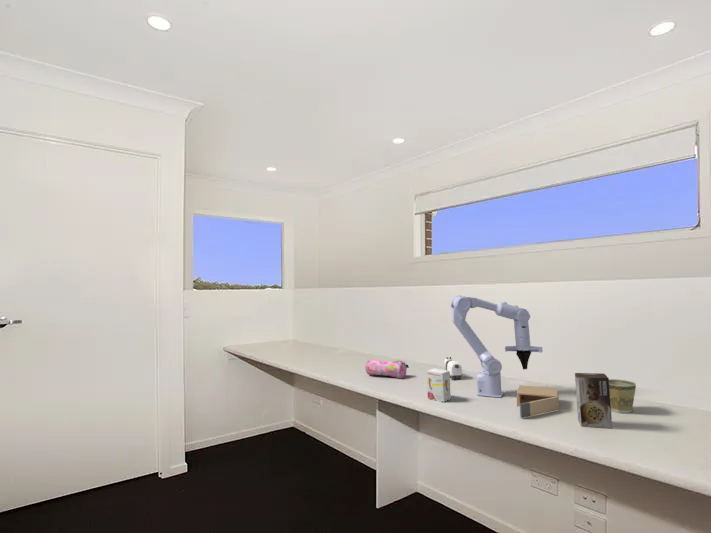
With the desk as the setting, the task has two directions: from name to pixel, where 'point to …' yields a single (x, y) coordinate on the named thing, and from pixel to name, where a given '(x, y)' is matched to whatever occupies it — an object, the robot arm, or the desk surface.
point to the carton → (534, 393)
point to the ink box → (438, 384)
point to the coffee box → (593, 400)
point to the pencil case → (386, 368)
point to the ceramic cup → (621, 395)
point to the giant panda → (453, 368)
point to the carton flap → (539, 407)
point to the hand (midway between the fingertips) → (525, 368)
